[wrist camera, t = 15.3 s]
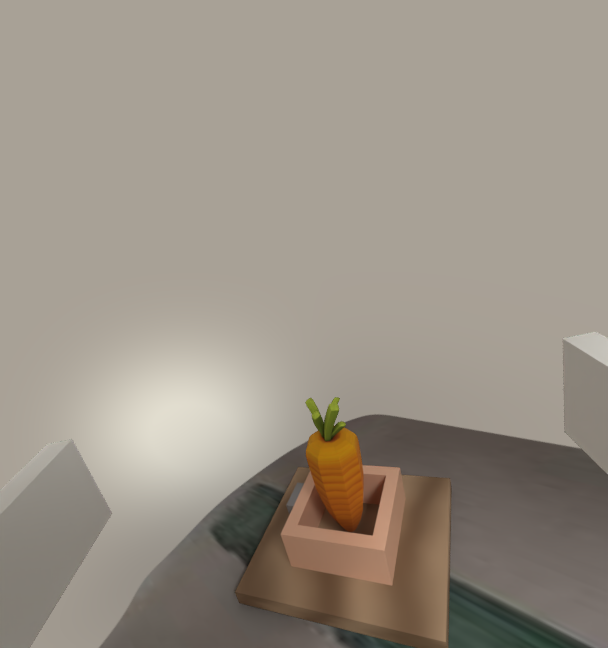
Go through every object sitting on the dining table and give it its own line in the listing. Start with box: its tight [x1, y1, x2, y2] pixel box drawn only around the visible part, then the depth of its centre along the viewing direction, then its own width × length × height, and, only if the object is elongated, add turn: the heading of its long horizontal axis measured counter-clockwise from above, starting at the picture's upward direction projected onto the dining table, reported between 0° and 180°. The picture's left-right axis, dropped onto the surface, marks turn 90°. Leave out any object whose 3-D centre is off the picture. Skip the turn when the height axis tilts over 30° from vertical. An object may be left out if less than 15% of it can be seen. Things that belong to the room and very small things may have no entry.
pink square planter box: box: [281, 465, 406, 585], centre depth 37 cm, size 10×9×4 cm
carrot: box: [306, 397, 364, 532], centre depth 35 cm, size 5×5×15 cm
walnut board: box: [235, 467, 451, 648], centre depth 38 cm, size 18×16×2 cm
